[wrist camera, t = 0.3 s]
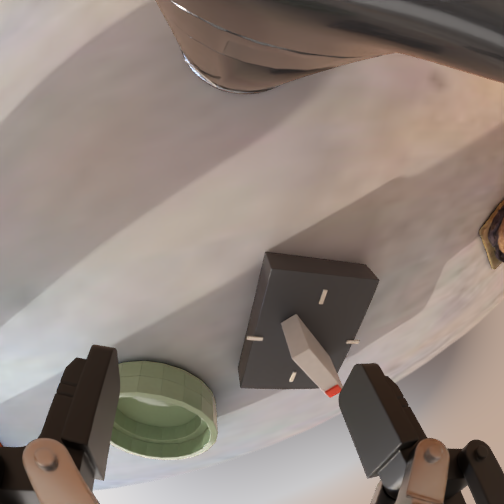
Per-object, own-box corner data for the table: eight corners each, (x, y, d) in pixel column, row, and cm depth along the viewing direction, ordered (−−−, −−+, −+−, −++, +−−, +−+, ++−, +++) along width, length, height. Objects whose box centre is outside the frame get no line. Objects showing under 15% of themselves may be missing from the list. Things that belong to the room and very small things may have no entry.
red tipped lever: (280, 322, 27) (292, 361, 23) (296, 313, 27) (310, 350, 22) (315, 364, 30) (329, 399, 26) (329, 356, 30) (344, 391, 25)
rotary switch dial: (258, 250, 27) (264, 268, 24) (371, 265, 29) (385, 281, 26) (232, 367, 33) (234, 389, 30) (327, 369, 35) (335, 389, 32)
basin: (89, 347, 30) (77, 380, 25) (222, 364, 32) (225, 400, 28) (105, 421, 36) (99, 450, 31) (209, 434, 38) (210, 463, 34)
